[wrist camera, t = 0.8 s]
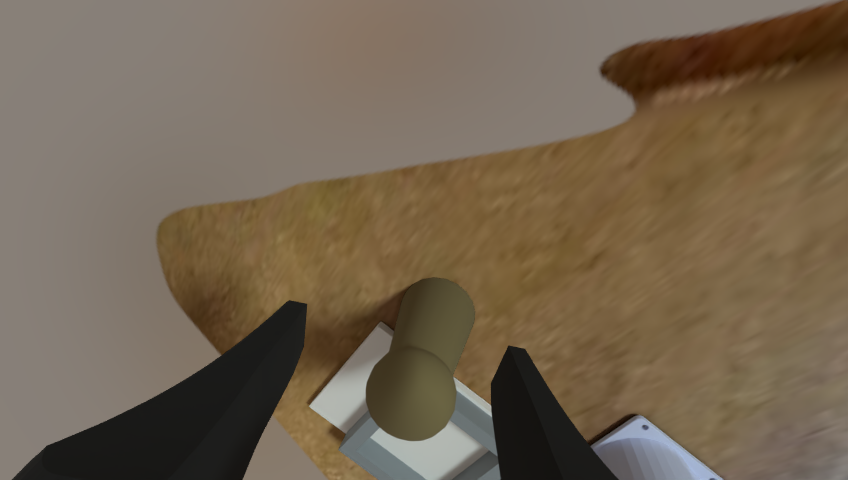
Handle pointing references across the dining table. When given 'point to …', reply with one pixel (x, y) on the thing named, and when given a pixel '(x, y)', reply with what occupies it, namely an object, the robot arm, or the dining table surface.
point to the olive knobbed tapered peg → (421, 361)
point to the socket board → (399, 459)
